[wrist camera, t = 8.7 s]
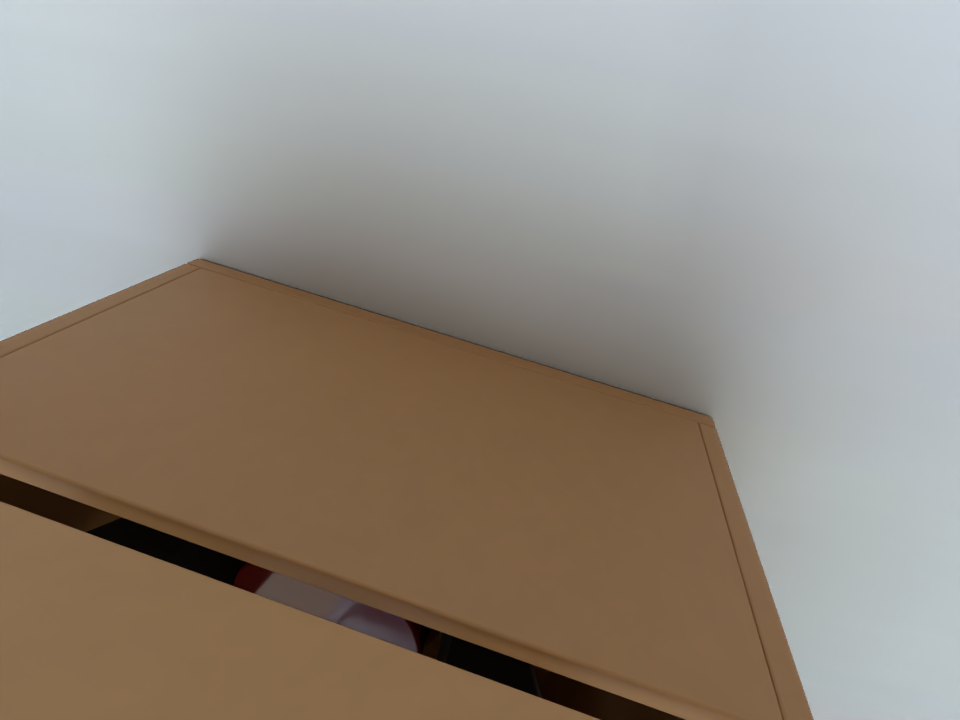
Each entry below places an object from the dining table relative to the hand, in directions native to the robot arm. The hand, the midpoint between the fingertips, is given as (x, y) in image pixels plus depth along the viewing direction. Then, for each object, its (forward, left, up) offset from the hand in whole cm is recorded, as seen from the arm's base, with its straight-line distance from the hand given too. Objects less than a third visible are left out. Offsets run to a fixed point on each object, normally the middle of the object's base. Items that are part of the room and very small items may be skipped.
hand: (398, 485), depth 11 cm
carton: (-3, 0, -2) cm, 3 cm away
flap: (+4, 0, +8) cm, 9 cm away
